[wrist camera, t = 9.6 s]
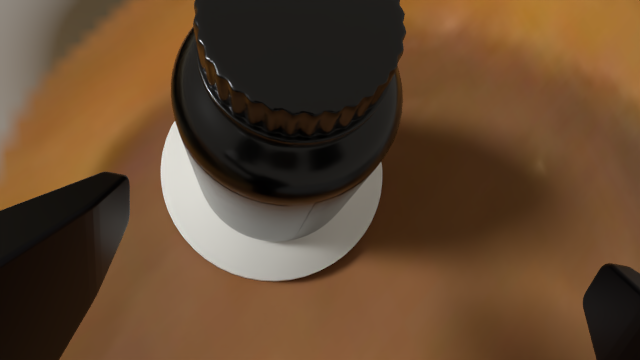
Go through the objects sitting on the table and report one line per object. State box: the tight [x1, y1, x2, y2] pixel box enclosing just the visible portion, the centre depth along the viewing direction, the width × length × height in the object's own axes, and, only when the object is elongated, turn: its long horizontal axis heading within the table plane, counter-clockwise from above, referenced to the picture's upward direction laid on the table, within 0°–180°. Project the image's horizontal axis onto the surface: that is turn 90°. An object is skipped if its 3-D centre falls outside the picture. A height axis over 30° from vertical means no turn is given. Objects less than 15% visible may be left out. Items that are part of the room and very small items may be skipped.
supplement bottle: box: [171, 0, 406, 242], centre depth 17 cm, size 7×7×12 cm
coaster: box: [161, 122, 382, 282], centre depth 23 cm, size 10×10×1 cm
